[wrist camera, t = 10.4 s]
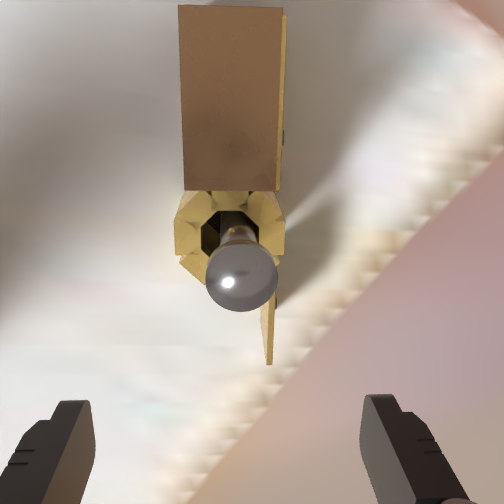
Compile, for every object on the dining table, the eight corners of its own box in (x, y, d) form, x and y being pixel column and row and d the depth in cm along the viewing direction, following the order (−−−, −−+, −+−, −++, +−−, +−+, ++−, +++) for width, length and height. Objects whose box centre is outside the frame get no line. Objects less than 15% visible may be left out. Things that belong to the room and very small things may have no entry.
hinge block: (270, 317, 37) (282, 378, 30) (187, 318, 37) (177, 380, 29) (282, 24, 29) (301, 8, 22) (176, 21, 29) (158, 4, 22)
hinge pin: (260, 187, 33) (279, 245, 22) (259, 234, 34) (276, 311, 23) (210, 187, 33) (204, 246, 22) (211, 234, 34) (205, 312, 23)
